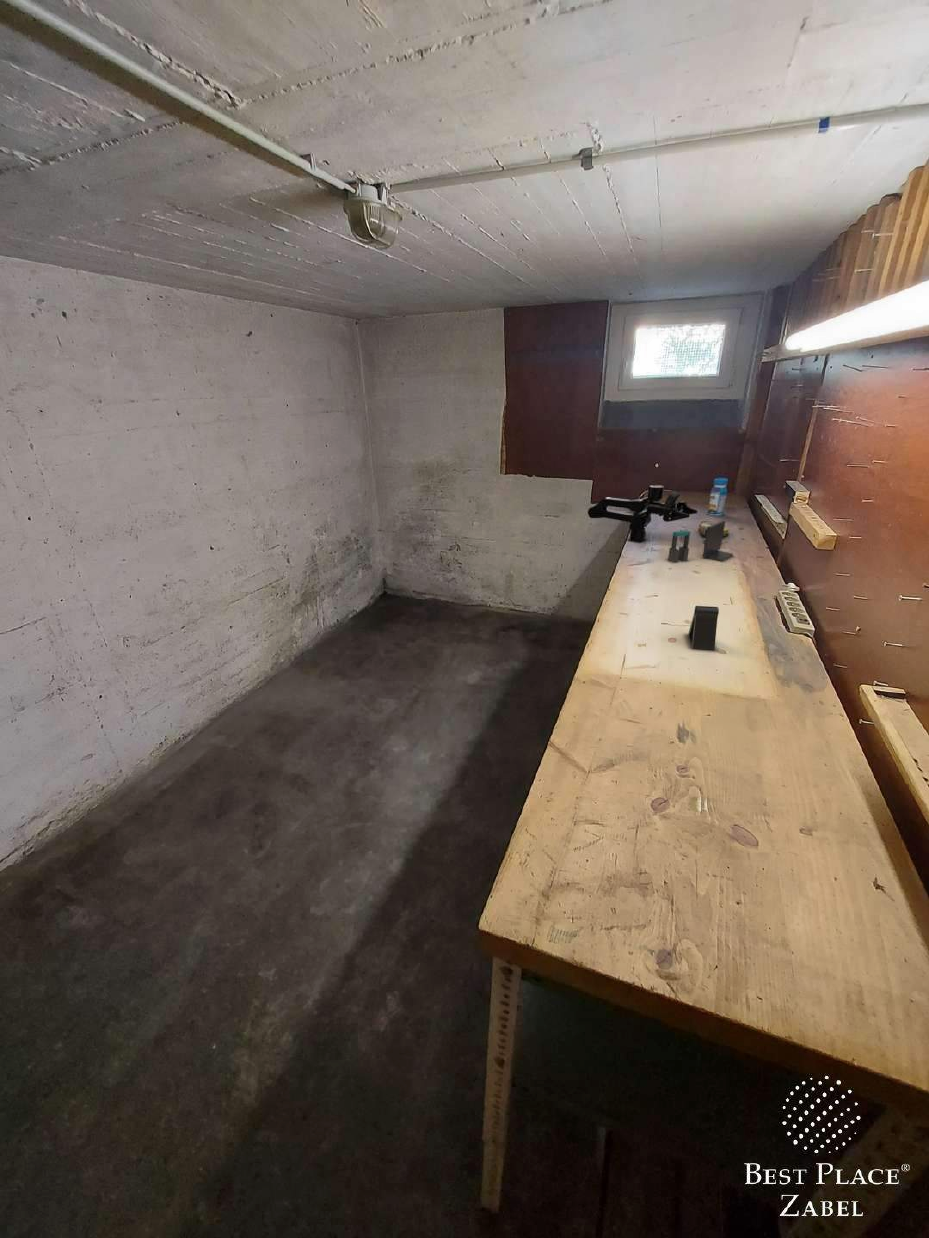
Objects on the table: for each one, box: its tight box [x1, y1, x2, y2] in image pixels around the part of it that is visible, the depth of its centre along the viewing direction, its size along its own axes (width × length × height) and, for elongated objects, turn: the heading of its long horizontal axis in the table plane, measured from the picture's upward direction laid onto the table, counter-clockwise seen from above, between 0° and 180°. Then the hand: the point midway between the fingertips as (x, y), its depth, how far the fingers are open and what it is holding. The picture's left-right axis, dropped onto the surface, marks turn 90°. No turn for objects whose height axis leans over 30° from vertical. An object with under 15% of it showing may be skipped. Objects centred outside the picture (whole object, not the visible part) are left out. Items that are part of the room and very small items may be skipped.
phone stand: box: [687, 605, 720, 651], centre depth 145 cm, size 9×6×12 cm, turn 165°
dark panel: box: [702, 520, 734, 562], centre depth 214 cm, size 13×14×14 cm
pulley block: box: [697, 520, 730, 543], centre depth 241 cm, size 14×6×30 cm
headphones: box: [667, 529, 692, 563], centre depth 211 cm, size 4×7×13 cm, turn 103°
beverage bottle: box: [707, 477, 729, 517], centre depth 276 cm, size 8×8×20 cm
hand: (693, 514), depth 220 cm, fingers open, 9 cm apart
